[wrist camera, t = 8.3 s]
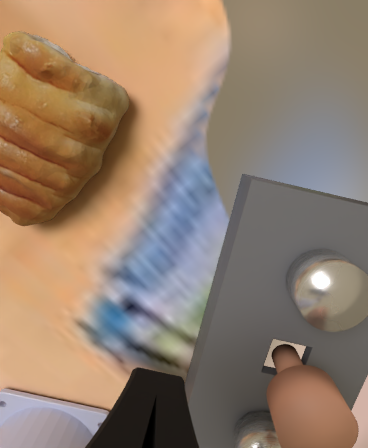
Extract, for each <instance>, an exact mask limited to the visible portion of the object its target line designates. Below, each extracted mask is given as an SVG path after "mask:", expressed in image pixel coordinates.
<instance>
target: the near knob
mask: <svg viewBox="0 0 368 448" xmlns="http://www.w3.org/2000/svg"><path fill="white" fill-rule="evenodd" d="M286 287H287V291H288V293H289V295H290V296H291V298H292V299H293V301H294V303H295V304H296V306H297V307H298V309H299V310H300V312H301V314H302V315H303V317H304V318H305V320H306V321H307V322H308V323H309V324H311V325H312V326H314V327H315V328H318V329H320V330H323V331H329V332H337V331H344V330H347V329H350V328H352V327H354V326H356V325H358V324H359V323H360V322H362V321H363V320H364V319H365V318H366V317H367V316H368V275H367V274H366V273H365V272H364V271H362V270H361V269H360V268H358V267H357V266H356V265H354V264H353V263H352V262H350V261H349V260H348V259H346V258H345V257H344V256H342V255H341V254H339V253H338V252H335V251H333V250H330V249H314V250H310V251H307V252H305V253H303V254H302V255H300V256H299V257H298V258H296V259H295V260H294V261H293V263H292V264H291V265H290V267H289V269H288V271H287V275H286Z"/></svg>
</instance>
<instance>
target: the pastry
mask: <svg viewBox="0 0 368 448" xmlns="http://www.w3.org/2000/svg"><path fill="white" fill-rule="evenodd" d="M128 107H129V97H128V94H127V92H126V90H125V89H124V88H123V87H122V86H120V85H119V84H117V83H116V82H114V81H113V80H111V79H109V78H108V77H107V76H104V75H101V74H99V73H97V72H95V71H92V70H90V69H89V68H87V67H84V66H82V65H80V64H77V63H74V62H73V60H72V59H71V58H70V57H69V55H68V54H67V53H66V52H65V51H64V50H63V49H62V48H61V47H59V46H58V45H56V44H53V43H51V42H50V41H48V40H47V39H45V38H42V37H40V36H38V35H31V34H29V33H26V32H22V31H19V32H12V33H10V34H8V35H7V36H5V37H4V39H3V48H2V50H1V52H0V211H1V212H2V213H3V214H5V215H7V216H8V217H10V218H11V219H12V221H13V222H15V223H16V224H18V225H20V226H28V225H32V224H37V223H40V222H46V221H49V220H51V219H53V218H54V217H55V216H56V214H57V213H58V212H59V211H60V210H61V209H62V208H63V207H64V206H65V204H67V203H68V202H70V201H71V200H73V199H74V198H76V196H77V195H78V193H79V192H80V191H81V189H82V188H83V186H84V185H85V184H86V183H87V182H88V180H89V179H91V178H92V176H94V175H95V174H97V172H98V171H99V170H100V168H101V166H102V160H103V154H104V152H105V150H106V148H107V146H108V145H109V143H110V142H111V140H112V138H113V137H114V135H115V133H116V131H117V128H118V125H119V122H120V119H121V117H122V116H123V115H124V114H125V112H126V111H127V110H128Z"/></svg>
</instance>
